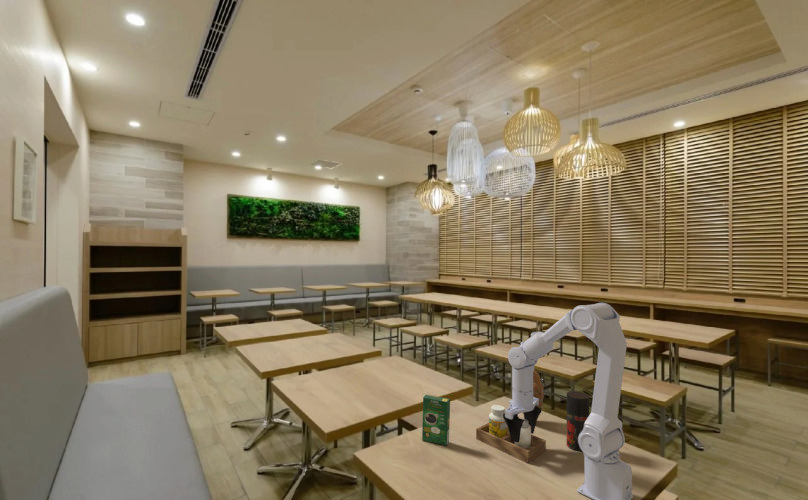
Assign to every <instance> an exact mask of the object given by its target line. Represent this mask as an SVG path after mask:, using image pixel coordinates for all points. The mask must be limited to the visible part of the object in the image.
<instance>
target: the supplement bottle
mask: <svg viewBox="0 0 808 500" xmlns="http://www.w3.org/2000/svg"><path fill="white" fill-rule="evenodd" d="M505 410H506V407H504V406H502V405H499V404H494V405H491V407H490V413H489V415H488V423H489V433H490V434H492V435H494V436H497V437H499V438H503V437H504V436H506V435H507V424H506V422H505V420H504V418H503V414H504V413H505Z"/></svg>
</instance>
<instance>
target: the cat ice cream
mask: <svg viewBox="0 0 808 500" xmlns="http://www.w3.org/2000/svg"><path fill="white" fill-rule="evenodd" d="M544 388H545V386H544V385H543V382H542V381H541V376H540V374H539V373H538V371H536V370H534V371H533V397H535V398H538V399H539V405H538V406H537V407H539V408H541V409H542V407H543V404H544V401H543V400H544V398H545V397H544V396H545V393H544Z"/></svg>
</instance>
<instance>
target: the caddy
mask: <svg viewBox="0 0 808 500" xmlns="http://www.w3.org/2000/svg"><path fill="white" fill-rule="evenodd" d="M475 434H476V435H475V436H476V437H475V438H476V440H477V441H480V442H481V443H484V444H486V445H488V446H490V447H492V448H495V449H497V450H499V451H501V452H503V453H505V454H507V455H510V456H512V457H513V458H516V459H518V460H520V461H522V462H524V463H526V464H529V463H531V462H533V460H535V459H537V458H538V457H540V456H541V455H542V454H543V453H545V452H546V451H547V440H546V439H543V438H541V437H539V436H537V435H534V434H531V448H529V449H528V450H526V449H524V448H521V447H519V446H517V445H515V442H514V441H512V440H511V436H510V432H509V429H508V426H507V435H506V436H504V437H503V438H499V437H497V436H494V435H492V434H490V433H489V422H488V423H486V424H483V425H481V426H480V427H478V428H476V429H475Z"/></svg>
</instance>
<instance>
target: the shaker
mask: <svg viewBox="0 0 808 500" xmlns="http://www.w3.org/2000/svg"><path fill="white" fill-rule="evenodd" d="M519 418H520V419H523V420H524V422H523V424H522V427H521V432H520V440H519V442H518V443H517V442H515V443H514V444H515V445H517V446H519V447H521V448H524V449H526V450H528V449H529V448H531V447H532V446H531V435H532V434H531V426H530V425H529V424H528V420H526V419H524V417H523V418H521V417H519Z"/></svg>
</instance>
